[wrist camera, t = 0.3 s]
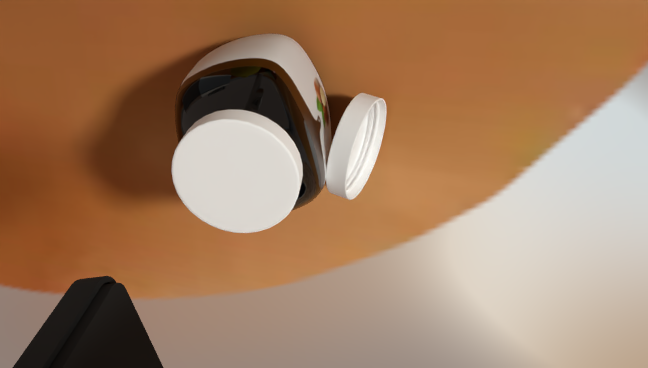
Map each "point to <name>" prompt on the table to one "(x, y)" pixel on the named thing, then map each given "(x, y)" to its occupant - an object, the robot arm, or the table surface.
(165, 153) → the table surface
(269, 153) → the spread jar
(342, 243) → the table surface
